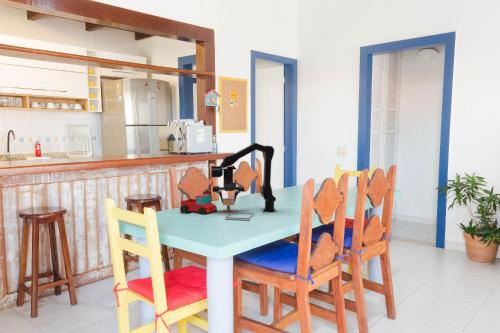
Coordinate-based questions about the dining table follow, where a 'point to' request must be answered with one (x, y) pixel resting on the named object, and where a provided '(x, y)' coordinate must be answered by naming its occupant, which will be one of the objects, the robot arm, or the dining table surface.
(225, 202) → the ring
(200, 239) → the dining table surface
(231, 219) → the tray
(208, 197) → the toy truck
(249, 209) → the dining table surface
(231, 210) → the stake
